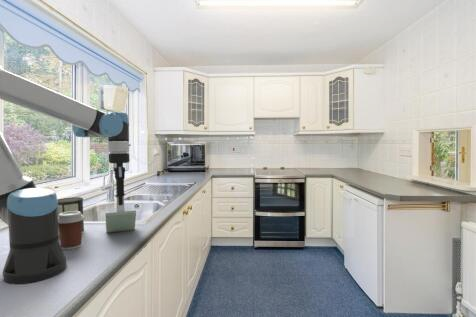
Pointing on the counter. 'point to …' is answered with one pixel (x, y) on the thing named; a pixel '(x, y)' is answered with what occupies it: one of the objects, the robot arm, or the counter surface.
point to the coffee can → (71, 206)
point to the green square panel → (120, 221)
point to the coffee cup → (70, 229)
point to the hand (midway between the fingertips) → (120, 212)
